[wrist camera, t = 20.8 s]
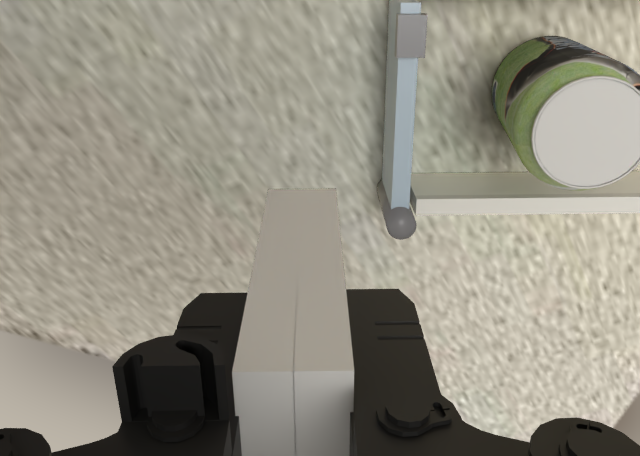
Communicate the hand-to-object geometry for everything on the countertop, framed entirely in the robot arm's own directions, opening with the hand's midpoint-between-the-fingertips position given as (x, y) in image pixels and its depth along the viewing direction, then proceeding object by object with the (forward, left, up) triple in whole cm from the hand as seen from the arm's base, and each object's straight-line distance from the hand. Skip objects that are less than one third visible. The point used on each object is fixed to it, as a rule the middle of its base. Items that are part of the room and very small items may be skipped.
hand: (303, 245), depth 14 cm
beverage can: (+13, -1, -25) cm, 28 cm away
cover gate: (+5, -2, -24) cm, 25 cm away
